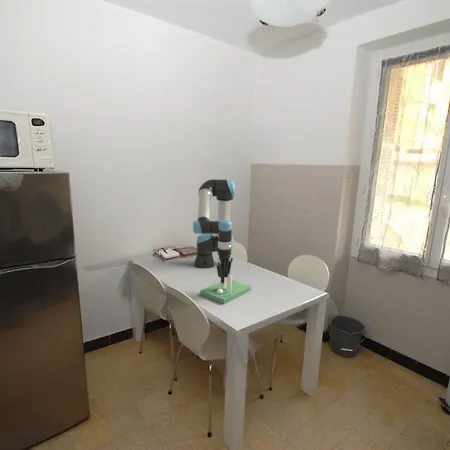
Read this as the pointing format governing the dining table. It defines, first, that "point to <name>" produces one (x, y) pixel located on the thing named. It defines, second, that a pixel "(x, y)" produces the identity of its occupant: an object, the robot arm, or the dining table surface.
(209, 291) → the mini golf green
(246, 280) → the dining table surface
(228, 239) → the robot arm
